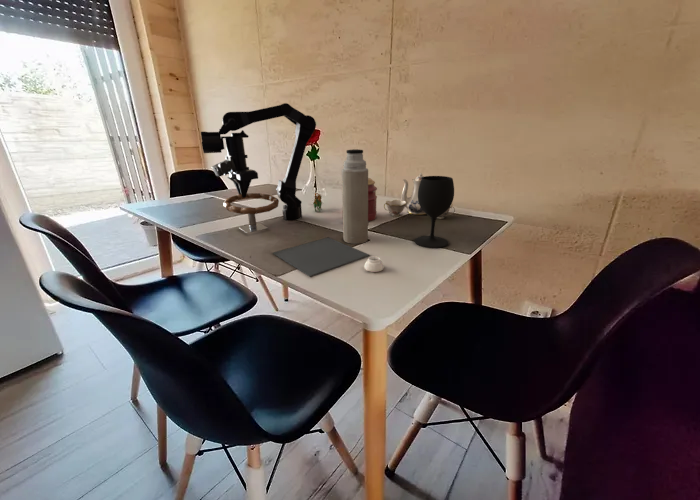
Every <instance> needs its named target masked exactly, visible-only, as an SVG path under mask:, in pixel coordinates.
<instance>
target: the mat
mask: <svg viewBox="0 0 700 500" xmlns="http://www.w3.org/2000/svg"><path fill="white" fill-rule="evenodd" d="M272 254H273V255H274V256H276V257H277V258H279V259H280V260H282V261H284V262H285V263H287V264H288V265H290V266H291V267H293V268H294V269H297V270H298V271H299V272H301V273H303V274H305V276H308V277H310V278H312V277H314V276H318V275H320V274H323V273H326V272H329V271H332V270H335V269H337V268H340V267H343V266H345V265H349V264H352V263H354V262H357V261H360V260H362V259H365V258H369V257H370V254H369V253H366V252H364V251H362V250H360V249H357V248H355V247H352V246H350V245H348V244H345V243H343V242H340V241H338V240H335V239H333V238H331V237H329V236H328V237H324V238H319V239H316V240H313V241H310V242H306V243H301V244H299V245H295V246H292V247H288V248H285V249H281V250H277V251H274V252H272Z"/></svg>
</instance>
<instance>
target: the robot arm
mask: <svg viewBox="0 0 700 500" xmlns="http://www.w3.org/2000/svg"><path fill="white" fill-rule="evenodd" d="M280 117H284V118H286V119H287V120H288V121H289V122H291V123H292V124H293V125H295V140H294V143H293V147H292V151H291V154H290V158H289V162H288V164H287V169H286V172H285V175H284V177H283V179H282V180H281V179H278V181H277V187H276V188H275V191H276V195H277V197H278V199H279V201H281V202H282V203H283V204H284V205H282V210H281V211H282V219H283V221H286V222H289V221H298V220H300V219H302V218H303V212H302V211H303V210H302V209H303V208H302V202H303V201H302V200H301V199H300V198H299V197H297V196H296V193H297V178H298V176H299V173H300V169H301V165H302V161H303V158H304V155H305V151H306V147H307V144H308V142H309V141H310V139H311V138H312V137H313V135H314V132H315V130H316V128H317V121H316V119H315V118H314V117H313V116H312V115H308V114H307V115H305V114H304V113H303V112H301V111H300V110H298V109H296V108H294V107H293V106H292V105H290V104H289V103H287V102H284V103H281V104H278V105H273V106H269V107H265V108H261V109H256V110H249V111H227V112H225V114H223V116H222V120H221V122H222V125H221V126H220V128H218V131H200V136H201V138H200V139H201V147H202V152H203V154H221V153H222V151H223V150H225V147H226V151H227V154H226V155H224V158H225V160H223V161H220V162H217V163H216V164H213V165H212V166H211V169H212V171H213V173H214V174H215V176H216V177H218V178H219V177H222V176H227V175H228V176H227V177H226V178H227V179H229V180H230V181H232V182H233V185H234V186H235V190H236V191H237V193H238V195H239V194H241V195H242V198H245V197H246V194H247V193H248V191H249V188H250V185H251V182H252V180H258V179H259V173H258V171H256V170H255V169H250V167H249V166H247V159H248V154H246V151H245V143H244V138H245V139H248V138H249V135H248V134H247V133H246V132H245V131H244V130H243V128H245V127H247V126H249V125H252V124H254V123H260V122H263V121H267V120H273V119H276V118H280ZM241 129H242V130H241ZM238 130H241V131H240V132H235V131H238ZM230 132H231V135H227V134H228V133H230ZM223 135H224V136H223ZM224 139H225V140H224ZM224 141H225V143H224Z"/></svg>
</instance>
